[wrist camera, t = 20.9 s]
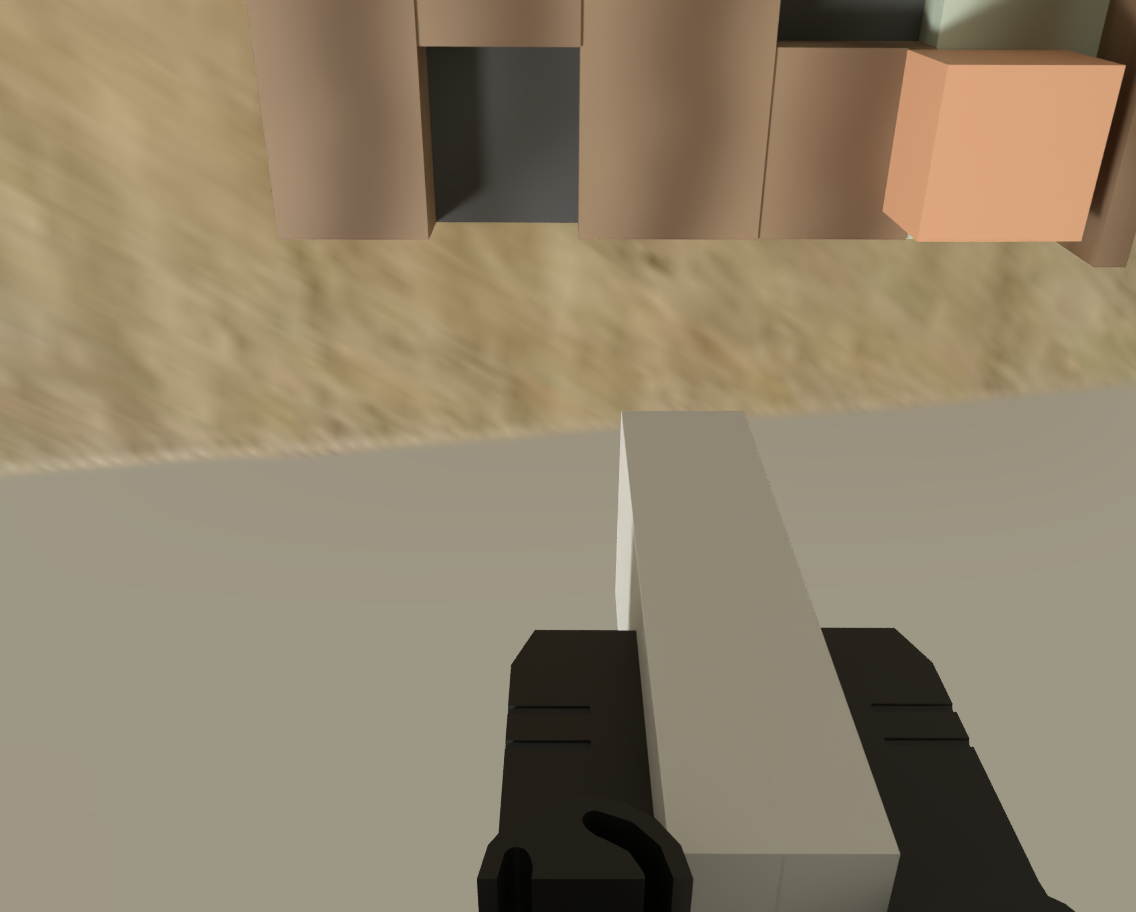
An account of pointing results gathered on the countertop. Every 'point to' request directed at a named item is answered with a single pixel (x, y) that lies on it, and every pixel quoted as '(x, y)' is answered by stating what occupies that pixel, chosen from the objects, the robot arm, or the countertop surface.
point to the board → (635, 112)
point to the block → (999, 144)
